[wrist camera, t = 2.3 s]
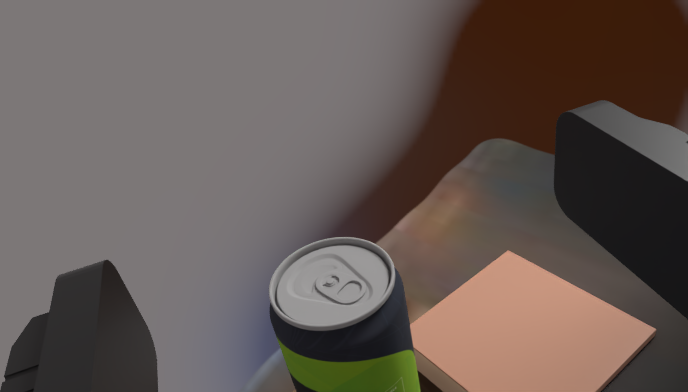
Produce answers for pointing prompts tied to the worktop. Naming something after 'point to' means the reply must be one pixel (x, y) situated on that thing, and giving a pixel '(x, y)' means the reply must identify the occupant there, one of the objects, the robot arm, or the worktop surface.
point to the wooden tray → (433, 377)
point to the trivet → (527, 333)
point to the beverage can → (343, 319)
